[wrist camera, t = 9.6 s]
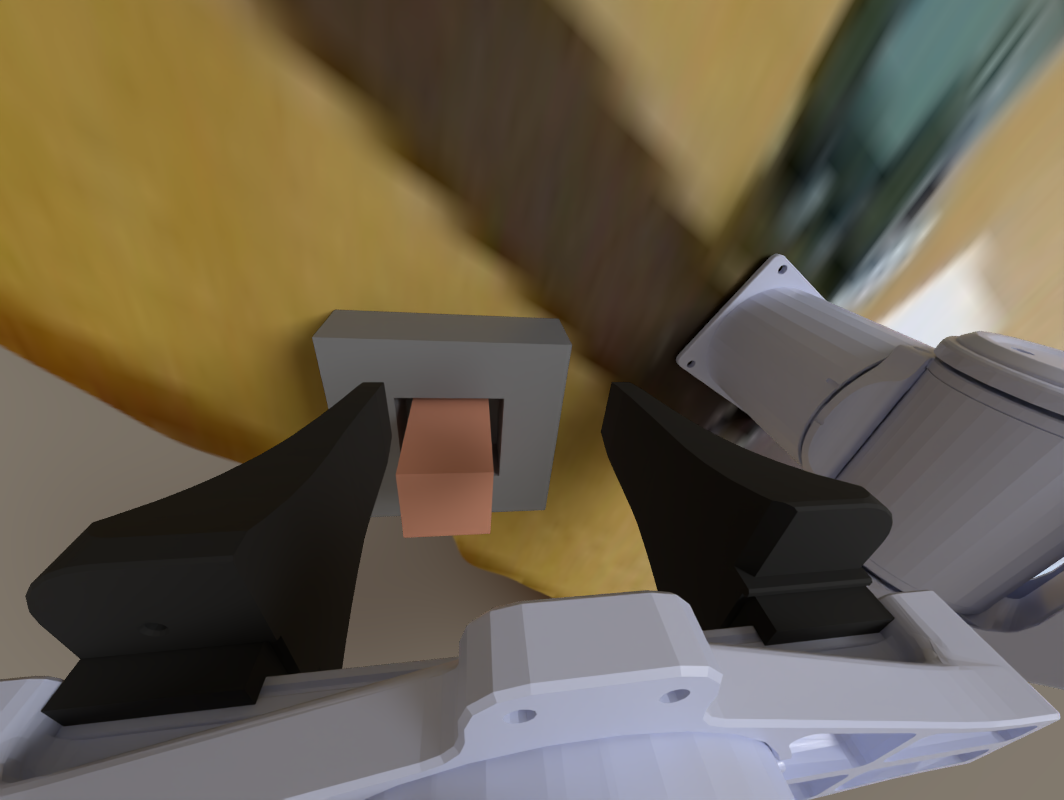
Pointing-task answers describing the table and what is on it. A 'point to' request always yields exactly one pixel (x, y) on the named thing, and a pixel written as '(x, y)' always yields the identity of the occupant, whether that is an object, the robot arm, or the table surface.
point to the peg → (446, 468)
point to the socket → (458, 385)
